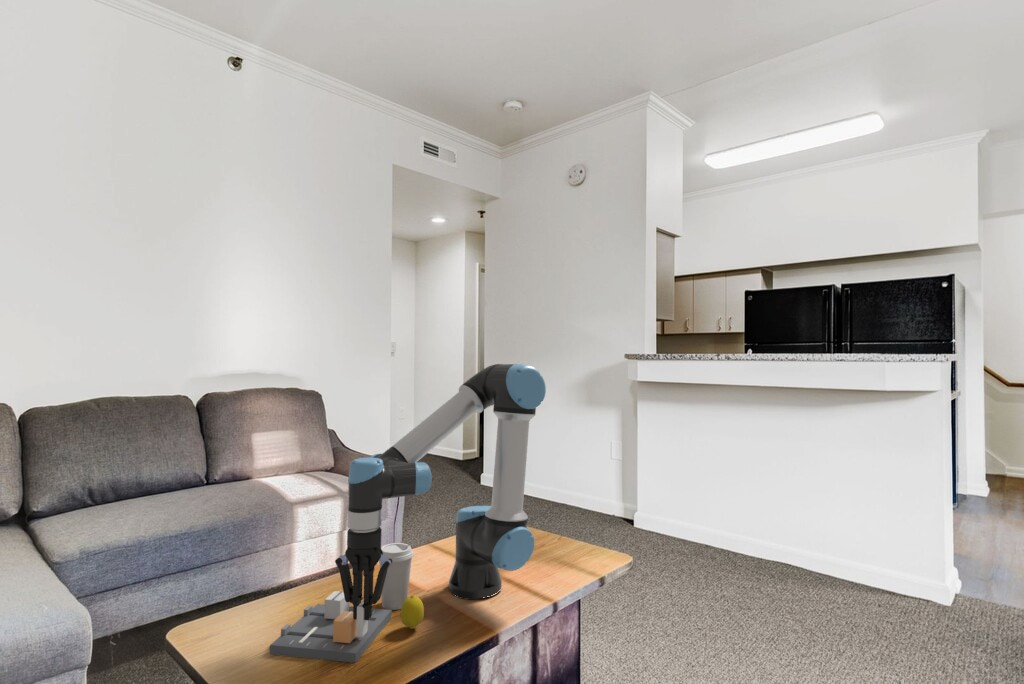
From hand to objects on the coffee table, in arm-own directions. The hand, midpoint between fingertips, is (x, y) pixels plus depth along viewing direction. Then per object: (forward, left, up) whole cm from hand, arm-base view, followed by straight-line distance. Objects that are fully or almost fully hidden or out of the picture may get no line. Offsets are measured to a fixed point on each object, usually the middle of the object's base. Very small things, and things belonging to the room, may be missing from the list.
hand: (361, 633), depth 123 cm
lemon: (-8, -11, -4) cm, 14 cm away
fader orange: (+4, 0, -2) cm, 4 cm away
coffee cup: (+1, -23, -4) cm, 23 cm away
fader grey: (+11, -10, -2) cm, 15 cm away
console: (+9, -5, -4) cm, 11 cm away
